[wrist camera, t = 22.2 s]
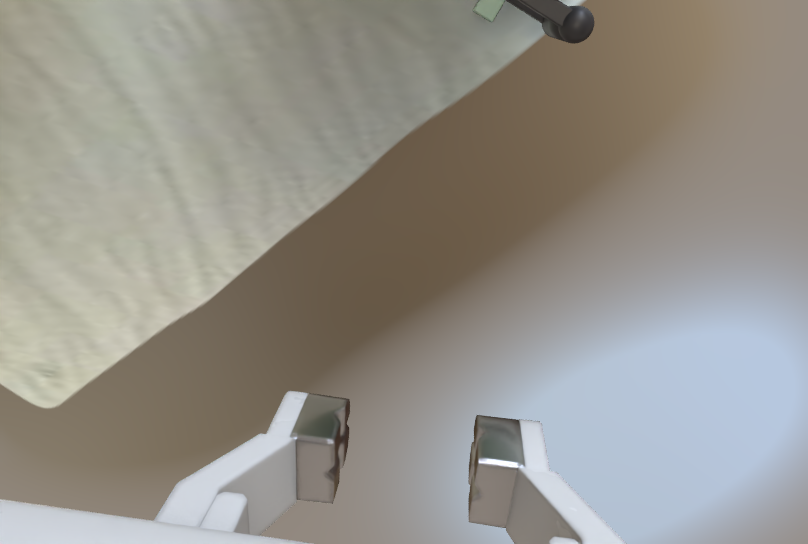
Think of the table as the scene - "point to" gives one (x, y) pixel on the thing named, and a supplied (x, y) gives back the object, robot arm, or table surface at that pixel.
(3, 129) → the table surface
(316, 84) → the table surface
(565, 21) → the door
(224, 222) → the table surface
